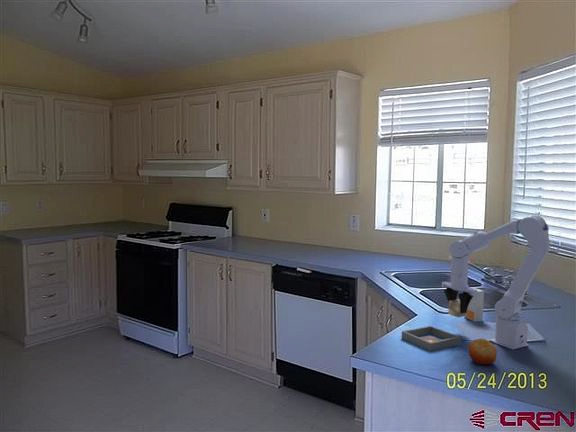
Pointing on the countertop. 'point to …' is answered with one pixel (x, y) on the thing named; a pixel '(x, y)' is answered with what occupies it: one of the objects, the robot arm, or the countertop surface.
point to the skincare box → (476, 307)
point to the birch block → (455, 308)
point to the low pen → (412, 337)
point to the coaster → (430, 339)
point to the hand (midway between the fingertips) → (457, 310)
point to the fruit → (482, 352)
